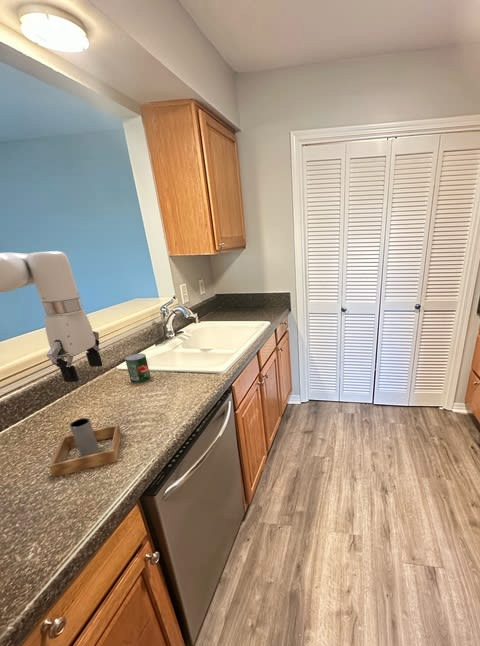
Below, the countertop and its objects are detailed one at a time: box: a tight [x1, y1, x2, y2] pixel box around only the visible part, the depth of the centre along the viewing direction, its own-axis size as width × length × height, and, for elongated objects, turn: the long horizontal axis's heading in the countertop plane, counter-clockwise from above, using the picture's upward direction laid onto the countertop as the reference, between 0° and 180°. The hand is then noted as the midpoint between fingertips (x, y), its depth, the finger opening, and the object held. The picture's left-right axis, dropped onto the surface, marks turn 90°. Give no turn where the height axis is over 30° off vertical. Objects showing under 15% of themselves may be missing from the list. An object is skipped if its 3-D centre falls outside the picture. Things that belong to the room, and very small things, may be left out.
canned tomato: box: [124, 353, 152, 385], centre depth 136 cm, size 8×8×11 cm
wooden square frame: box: [48, 424, 122, 478], centre depth 91 cm, size 15×15×4 cm
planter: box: [69, 417, 101, 457], centre depth 90 cm, size 4×4×10 cm
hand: (84, 373), depth 83 cm, fingers open, 9 cm apart
